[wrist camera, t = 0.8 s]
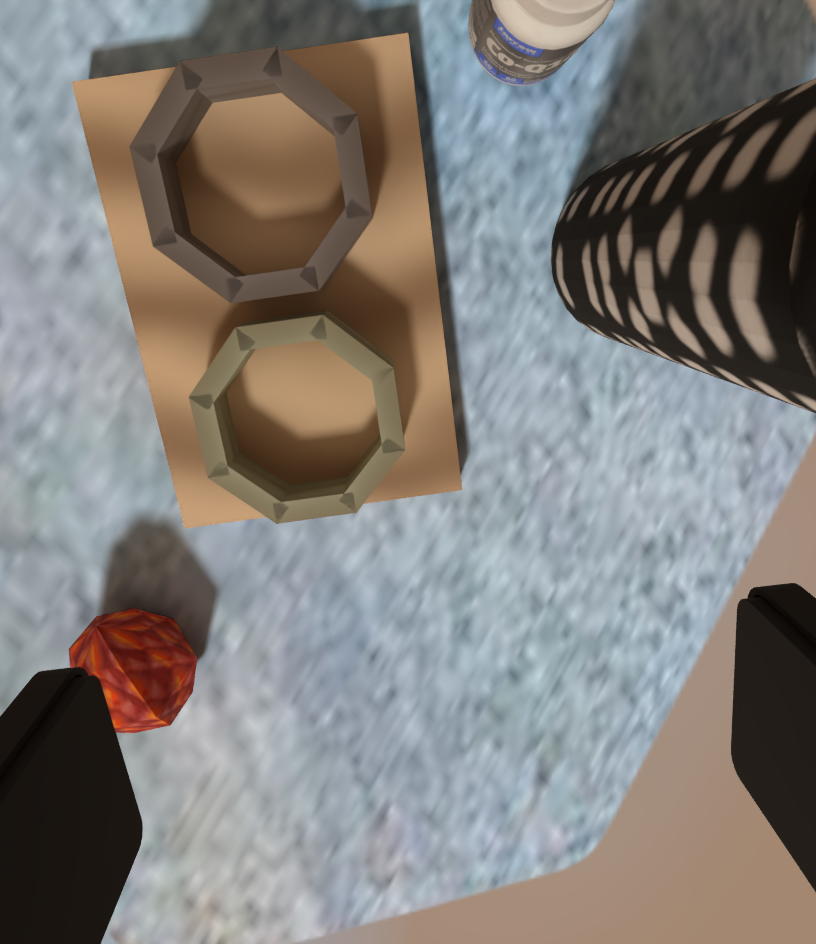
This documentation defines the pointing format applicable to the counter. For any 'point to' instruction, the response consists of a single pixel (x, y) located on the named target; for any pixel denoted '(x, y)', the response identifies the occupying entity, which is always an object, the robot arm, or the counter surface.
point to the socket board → (280, 276)
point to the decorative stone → (137, 667)
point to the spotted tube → (706, 249)
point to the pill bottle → (531, 35)
